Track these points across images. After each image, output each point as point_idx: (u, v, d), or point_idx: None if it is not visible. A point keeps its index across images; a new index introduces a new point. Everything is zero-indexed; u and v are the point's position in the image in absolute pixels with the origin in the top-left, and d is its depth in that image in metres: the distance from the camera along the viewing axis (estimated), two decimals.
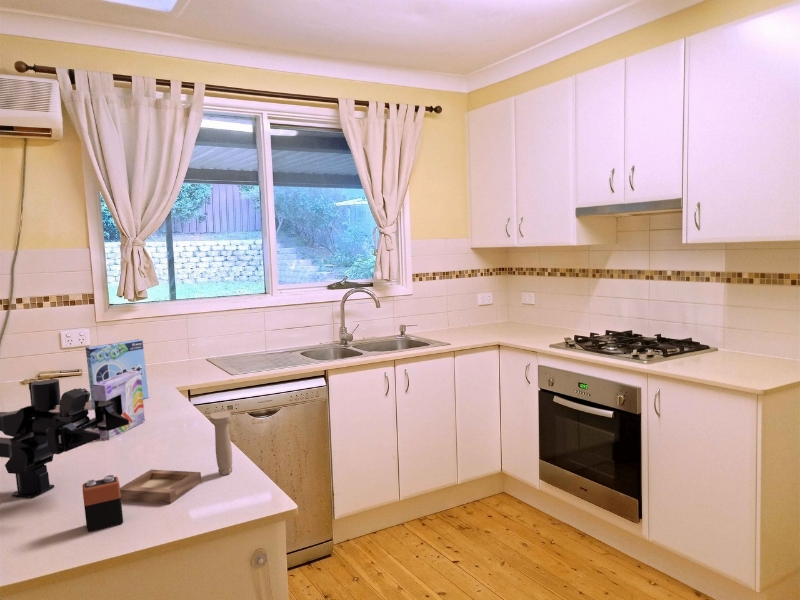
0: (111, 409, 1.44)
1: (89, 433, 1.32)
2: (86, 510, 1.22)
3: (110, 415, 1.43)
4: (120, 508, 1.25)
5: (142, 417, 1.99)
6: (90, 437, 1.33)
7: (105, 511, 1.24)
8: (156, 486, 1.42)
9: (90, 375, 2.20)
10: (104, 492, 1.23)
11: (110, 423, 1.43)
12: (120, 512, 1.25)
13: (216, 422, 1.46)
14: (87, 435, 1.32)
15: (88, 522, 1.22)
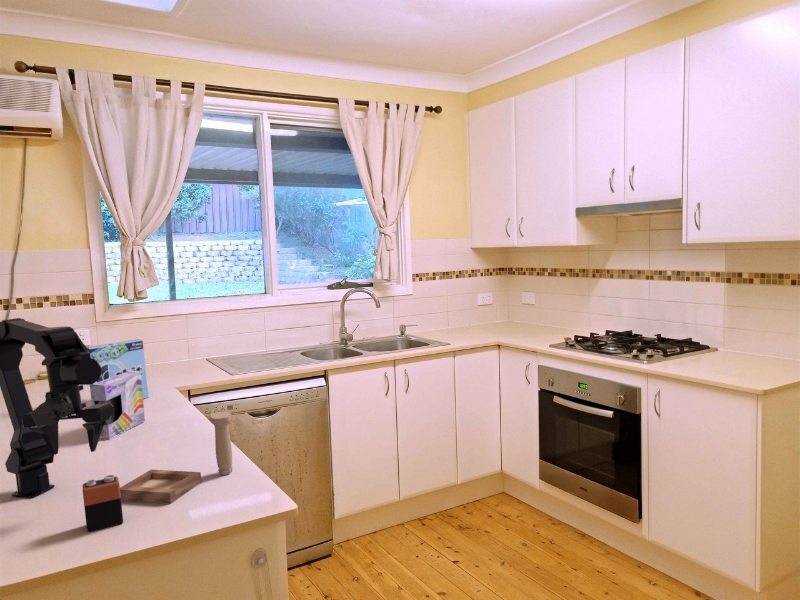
0: (89, 427, 1.31)
1: (49, 446, 1.34)
2: (86, 510, 1.22)
3: None
4: (120, 508, 1.25)
5: (142, 417, 1.99)
6: None
7: (105, 511, 1.24)
8: (156, 486, 1.42)
9: None
10: (104, 492, 1.23)
11: None
12: (120, 512, 1.25)
13: (216, 422, 1.46)
14: None
15: (88, 522, 1.22)
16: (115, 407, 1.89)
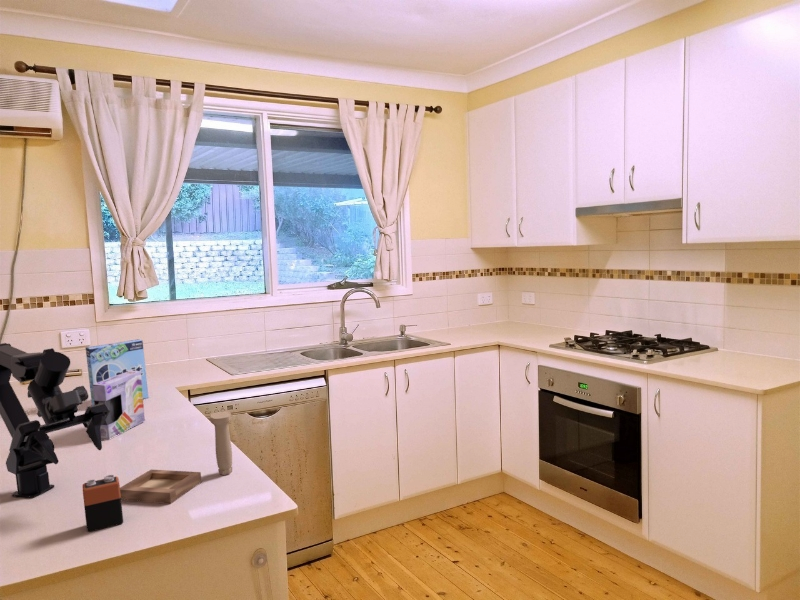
0: (99, 420, 1.35)
1: (50, 454, 1.25)
2: (86, 510, 1.22)
3: (93, 427, 1.34)
4: (120, 508, 1.25)
5: (142, 417, 1.99)
6: (49, 457, 1.26)
7: (105, 511, 1.24)
8: (156, 486, 1.42)
9: (90, 375, 2.20)
10: (104, 492, 1.23)
11: (90, 431, 1.35)
12: (120, 512, 1.25)
13: (216, 422, 1.46)
14: (48, 454, 1.25)
15: (88, 522, 1.22)
16: (115, 407, 1.89)
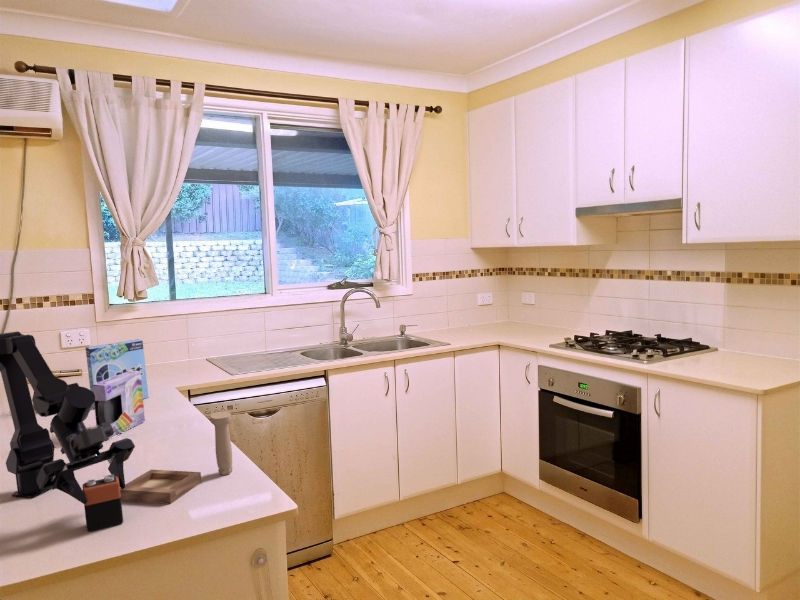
0: (121, 457, 1.30)
1: (78, 494, 1.21)
2: (86, 510, 1.22)
3: (116, 465, 1.29)
4: (120, 508, 1.25)
5: (142, 417, 1.99)
6: (78, 497, 1.21)
7: (105, 510, 1.24)
8: (156, 486, 1.42)
9: (90, 375, 2.20)
10: (104, 492, 1.23)
11: (113, 469, 1.30)
12: (120, 512, 1.25)
13: (216, 422, 1.46)
14: (76, 493, 1.21)
15: (88, 522, 1.22)
16: (115, 407, 1.89)
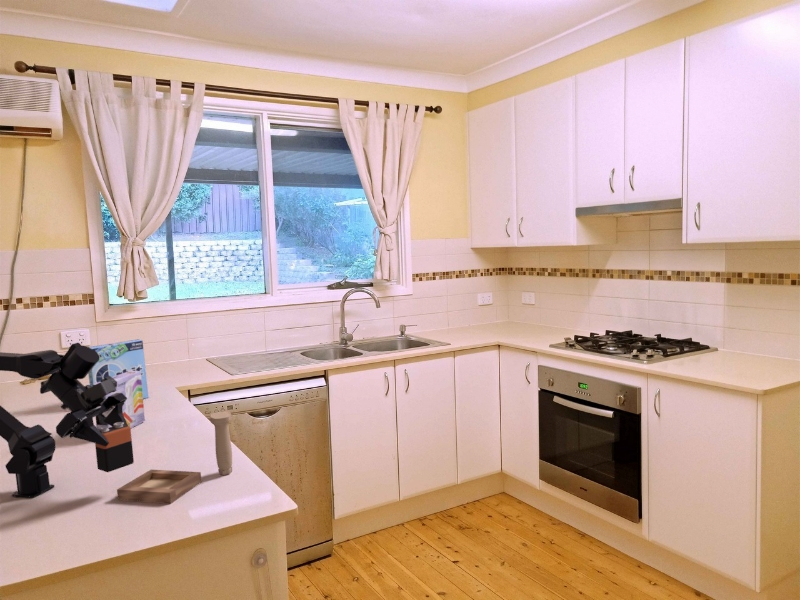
0: (121, 408, 1.45)
1: (100, 437, 1.35)
2: (106, 452, 1.37)
3: (117, 414, 1.44)
4: (132, 449, 1.42)
5: (142, 417, 1.99)
6: (99, 440, 1.36)
7: (121, 452, 1.40)
8: (156, 486, 1.42)
9: (90, 375, 2.20)
10: (120, 435, 1.39)
11: (112, 419, 1.45)
12: (132, 453, 1.42)
13: (216, 422, 1.46)
14: (98, 437, 1.35)
15: (107, 463, 1.37)
16: None
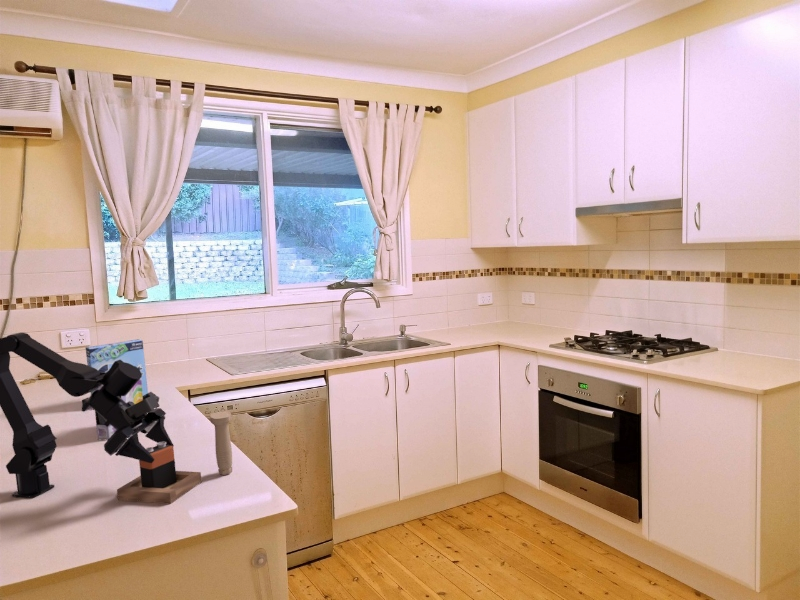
0: (162, 422, 1.47)
1: (146, 454, 1.36)
2: (152, 473, 1.38)
3: (160, 429, 1.46)
4: None
5: None
6: (145, 457, 1.36)
7: (165, 472, 1.41)
8: None
9: None
10: (164, 455, 1.40)
11: (155, 434, 1.46)
12: (175, 472, 1.43)
13: (216, 422, 1.46)
14: (144, 454, 1.35)
15: (153, 483, 1.38)
16: None
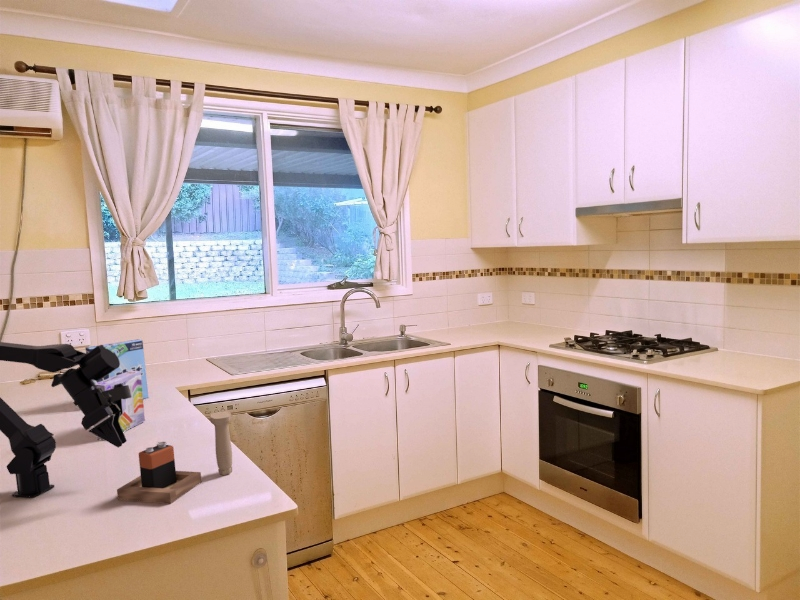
0: (119, 417, 1.50)
1: (117, 437, 1.39)
2: (152, 473, 1.38)
3: (116, 422, 1.48)
4: None
5: (142, 417, 1.99)
6: (114, 440, 1.39)
7: (165, 472, 1.41)
8: None
9: None
10: (164, 455, 1.40)
11: None
12: (175, 472, 1.43)
13: (216, 422, 1.46)
14: (115, 437, 1.39)
15: (153, 483, 1.38)
16: None
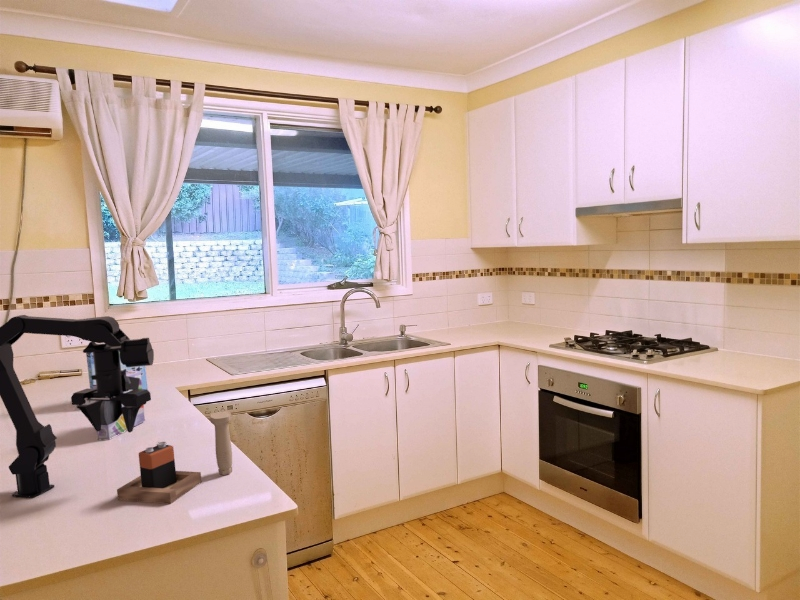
0: None
1: (134, 423, 1.46)
2: (152, 473, 1.38)
3: (99, 409, 1.49)
4: None
5: (142, 417, 1.99)
6: (131, 424, 1.46)
7: (165, 472, 1.41)
8: None
9: (90, 375, 2.20)
10: (164, 455, 1.40)
11: (93, 410, 1.47)
12: (175, 472, 1.43)
13: (216, 422, 1.46)
14: (133, 422, 1.46)
15: (153, 483, 1.38)
16: (115, 407, 1.89)
